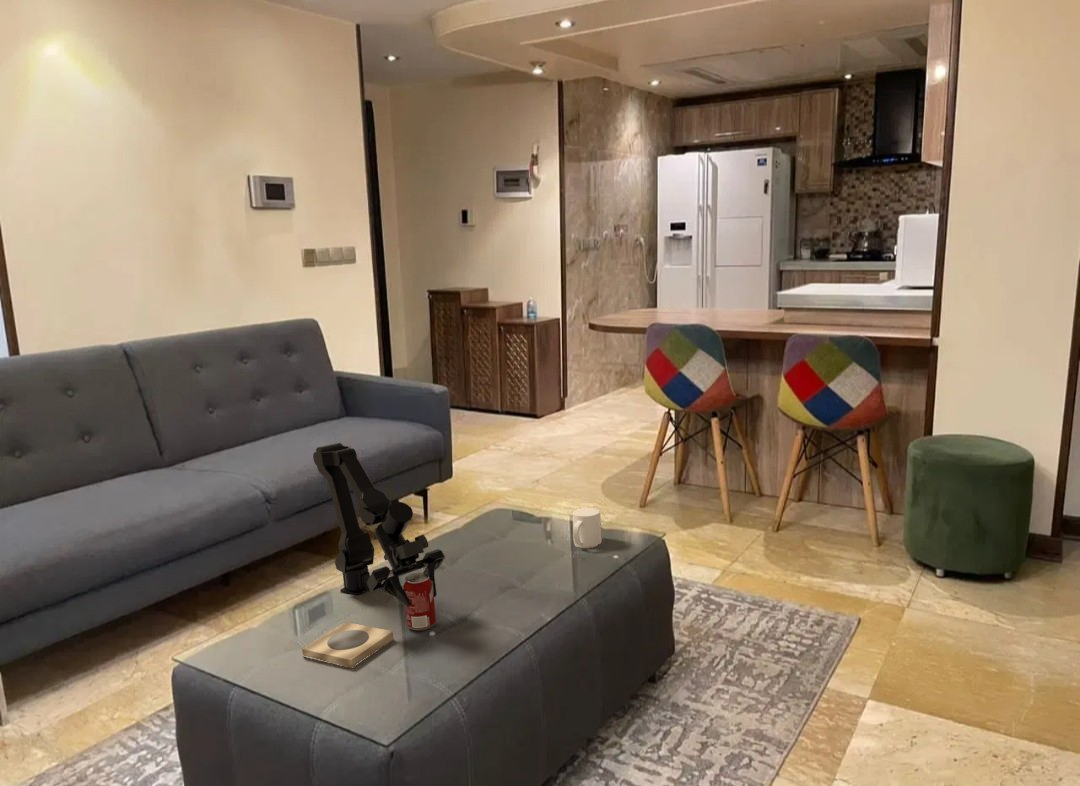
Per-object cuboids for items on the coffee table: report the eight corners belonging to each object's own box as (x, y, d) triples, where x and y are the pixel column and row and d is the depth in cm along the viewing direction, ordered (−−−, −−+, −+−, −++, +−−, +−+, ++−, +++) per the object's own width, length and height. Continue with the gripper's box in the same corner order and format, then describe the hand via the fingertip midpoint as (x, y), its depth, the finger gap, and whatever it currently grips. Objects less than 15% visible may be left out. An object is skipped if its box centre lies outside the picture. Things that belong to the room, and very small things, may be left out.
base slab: (303, 657, 177) (302, 648, 176) (346, 629, 189) (345, 621, 188) (352, 668, 170) (350, 659, 170) (393, 639, 182) (392, 630, 182)
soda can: (430, 633, 184) (426, 583, 182) (403, 632, 185) (398, 583, 183) (440, 619, 191) (435, 571, 189) (413, 619, 192) (408, 571, 190)
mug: (581, 505, 240) (605, 508, 236) (583, 535, 241) (607, 538, 237) (562, 518, 229) (587, 521, 225) (564, 549, 231) (589, 552, 227)
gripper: (367, 537, 181) (397, 597, 175) (437, 516, 193) (467, 571, 186) (355, 562, 189) (383, 620, 182) (423, 540, 200) (451, 594, 194)
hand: (422, 600), depth 186 cm, fingers closed on soda can, 7 cm apart
